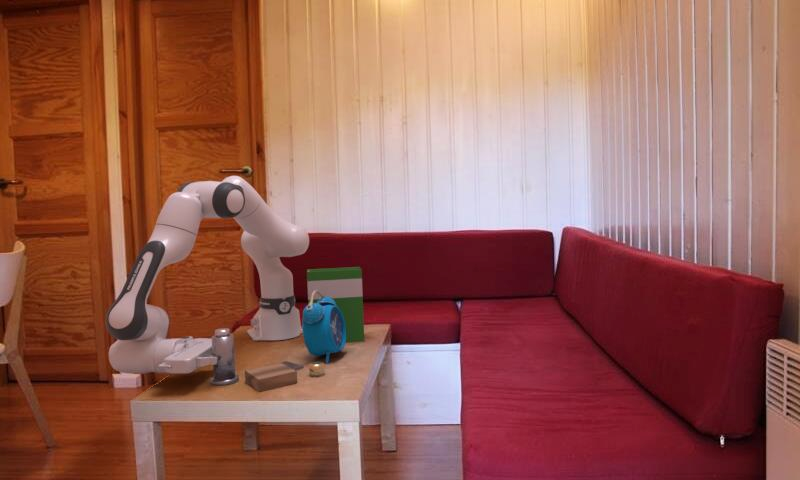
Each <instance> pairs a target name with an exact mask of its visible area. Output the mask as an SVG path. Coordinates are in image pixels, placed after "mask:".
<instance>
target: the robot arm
mask: <svg viewBox="0 0 800 480" xmlns="http://www.w3.org/2000/svg"><path fill="white" fill-rule="evenodd" d="M232 218H233V219H234V221H235V222H236V223H237V224H238V225H239V226H240V227H241V229H242V230H243V232H242V234H241V238H240V245H241V249H242V250H243V252H244V253H245V254H247V255H248V256H249V257H250V258H251V260H252V261H253V263H254V265H255V266H256V269H257V272H258V275H259V281H260V282H259V283H260V295H261V296H260V298H259V306H258V307H259V309H258V310H257V312H256V313H255V314H254V316H253V318H252V319H250V325H251V326H253V327H252V328H249V329H247V334H248V335H249V337H250V339H252V341H282V340H284V341H285V340H289V339H293V338H297V337H299V336H300V335H301V334H303V329H302V325H301V318H300V315H301V314H300V310H299V309H298V308H297V307H296V306H295V305H296V297H295V296H296V295H295V294H294V277H293V273H292V272H291V270H290V269H288V268H287V267H286V266H285V265H284V264H283V263H282V261H281V258H282V257H283V258H292V257H297V256H301V255H303V254H305V253H306V251H307V250H308V248H309V246H310V237H309V233H308V232H307V230H306V229H305V228H304V227H303V226H299V225H296V224H294V223H292V222H290V221H288V220H287V219H285V218H284V217H282V216H281V215H279V214H278V213H276V212H275V211H274V210H272V208H270V206H269V205H268V203H267V202H266V201H265V200H264V199H263V198H262V196H261V195H260V194H259V193H258V192H257V190H256V189H255V188H254V187H253V186H252V185H251V184H250V183H249V182H248V181H246V180H245V179H244V178H242V177H241V176H239V175H230V176H227V177H225V178H224V179H222V181H216V180H215V181H214V180H206V181H205V180H203V181H195V180H193V181H188V182H185V183H183V184H182V185H180V186H179V187H178V188H177V190H176V192H174V193H171V194H170V195H168V197H167V199H166V201H165V203H164V204H163V206H162V208H161V211H160V212H159V214H158V217H157V220H156V223H155V225H154V228H153V230H152V234H151V235H150V237H149V239H148V241H147V243H146V244H144V246H143V247H142V248H141V250H140V251H139V253H138V255H137V257H136V258H135V261H134V263H133V265H132V268H131V270H130V272H129V274H128V276H127V279H126V281H125V282H124V285H123V288H122V289H121V291H120V293H119V295H118V297H117V298H116V299H115V301H113V303H112V304H111V305H110V307H109V308H108V310H107V312H106V316H105V319H104V321H105V328H106V330H107V332H108V333H109V335H110V336H111V337H112V338H114V339H115V340H116V341H115V342H114V343H112V344H111V345H110V347H109V349H108V350H109V351H108V361H109V363H110V365H111V367H112V369H114V370H115V371H116V372H119V373H124V374H135V375H136V374H137V375H138V374H139V375H140V374H145V375H146V374H149V373H156V374H176V375H177V374H180V375H181V374H191V373H192V372H194V371H196V370H197V369H198V368H200V367H207V366H210V365H212V366H213V365H215V364H217V363H218V362H219V360H218V356H213V354H212V338H206V337H205V338H204V337H203V338H202V337H198V338H197V337H196V338H194V337H193V336H192V335H191V336H190V335H189V336H183V337H179V338H177V337H176V338H167V337H168V333H169V332H168V331H169V327H170V316H169V314H168V313H167V311H166V310H165V309H164V308H162V307H160V306H156V305H153V304H149V303H148V298H149V296H150V293H151V291H152V288H153V286H154V284H155V281H156V280H157V277H158V275H159V273H160V272H161V270H163V268H165V267H166V266H168V265H171V264H175V263H179V262H181V261H183V260H185V259H186V258H187V257H189V255H190V253H191V251H192V250H193V248H194V245H195V243H196V240H197V236H198V232H199V228H200V225H201V222H202V220H203V219H225V220H226V219H232ZM147 303H148V304H147Z"/></svg>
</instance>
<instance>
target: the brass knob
mask: <svg viewBox="0 0 800 480" xmlns="http://www.w3.org/2000/svg"><path fill="white" fill-rule="evenodd" d="M308 374H309V375H308V376H309V377H312V378H318V377H319V378H320V377H323V376H324V375H325V363H324V362H323V361H312V362H309V363H308Z"/></svg>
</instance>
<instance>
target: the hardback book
mask: <svg viewBox="0 0 800 480" xmlns="http://www.w3.org/2000/svg"><path fill="white" fill-rule="evenodd" d="M306 270H307V271H306V281H307V282H306V283H307V305H309V303H310V300H311V295H312V293H313V291H315V290H317V291H319V292H320V293H321V294H322V295H323V296H327V297H329V298H331V299H333V300H334V301H335V303H336V306H337V307H338V308H339V309H340V311H341V313H342V315H343V318H344V322H345V328H346V342H345V344H349V343H350V344H351V343H364V342H365V321H364V319H365V318H364V301H363V300H364V299H363V298H364V297H363V276H362V275H363V270H362V268H361V267H360V266H352V267H350V266H349V267H335V268H334V267H333V268H330V267H329V268H314V269H311V268H310V269H306ZM321 298H323V297H321V296H320V295H319V294H318V293H317V292H315V294H314V297H313V303H317V301H318V300H319V299H321Z"/></svg>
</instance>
